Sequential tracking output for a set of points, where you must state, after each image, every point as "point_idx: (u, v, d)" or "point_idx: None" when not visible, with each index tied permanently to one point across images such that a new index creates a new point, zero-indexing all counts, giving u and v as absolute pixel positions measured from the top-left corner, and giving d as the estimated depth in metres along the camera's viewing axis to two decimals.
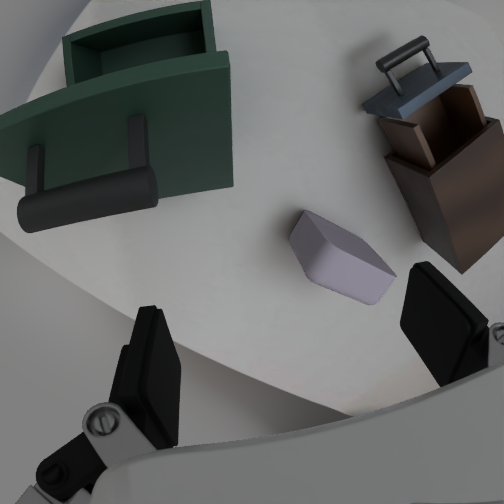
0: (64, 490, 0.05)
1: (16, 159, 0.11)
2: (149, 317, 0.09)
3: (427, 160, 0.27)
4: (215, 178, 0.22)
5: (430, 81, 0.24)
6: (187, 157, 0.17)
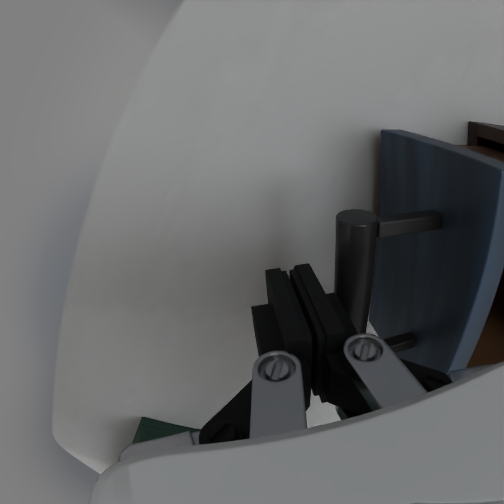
0: None
1: None
2: (282, 276, 0.11)
3: None
4: None
5: (447, 301, 0.10)
6: None
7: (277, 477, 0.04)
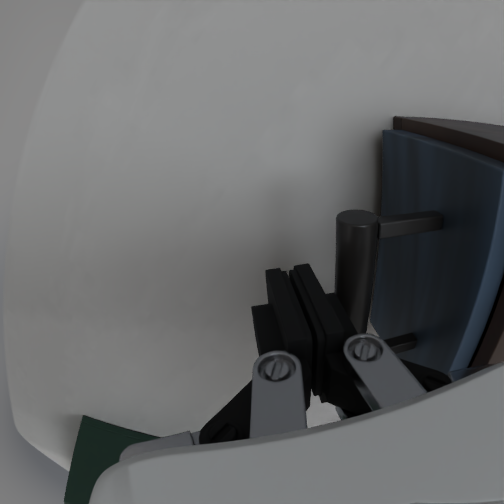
0: None
1: None
2: (282, 277, 0.11)
3: None
4: None
5: (448, 303, 0.10)
6: None
7: (277, 477, 0.04)
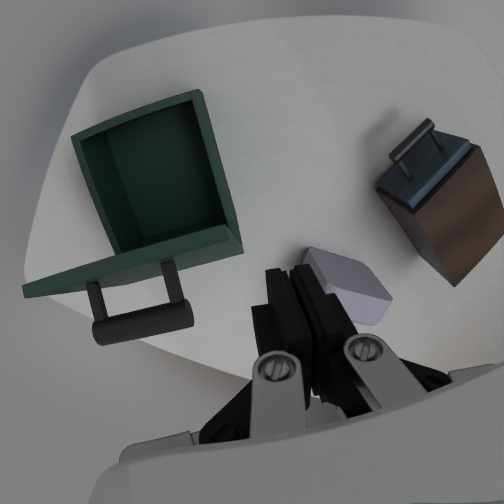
0: None
1: (76, 288, 0.18)
2: (282, 276, 0.11)
3: None
4: (228, 255, 0.28)
5: (435, 164, 0.31)
6: (205, 258, 0.23)
7: (277, 477, 0.04)
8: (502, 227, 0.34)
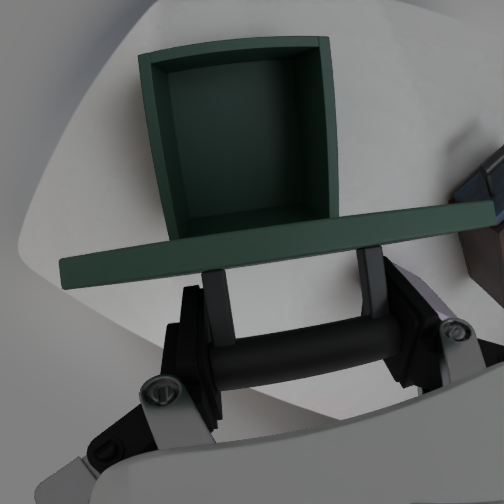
0: None
1: None
2: (195, 295, 0.10)
3: None
4: None
5: None
6: None
7: (277, 477, 0.04)
8: None
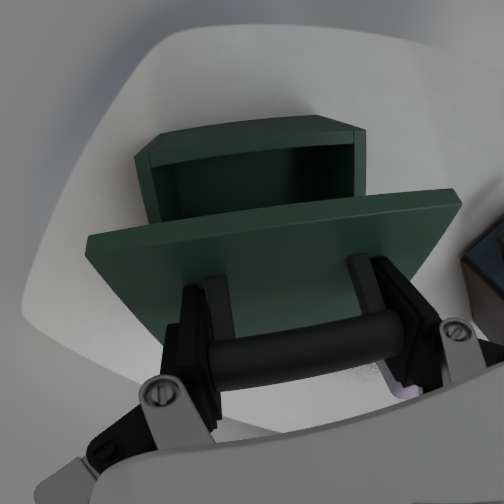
0: None
1: (176, 290, 0.11)
2: (195, 295, 0.10)
3: None
4: None
5: None
6: (351, 312, 0.16)
7: (277, 477, 0.04)
8: None
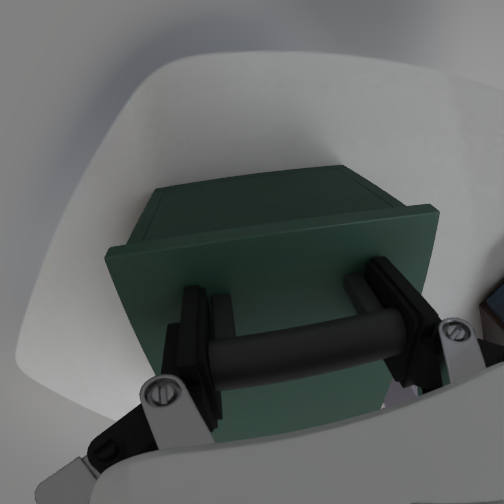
0: None
1: None
2: (196, 295, 0.10)
3: None
4: (366, 405, 0.18)
5: None
6: None
7: (277, 477, 0.04)
8: None
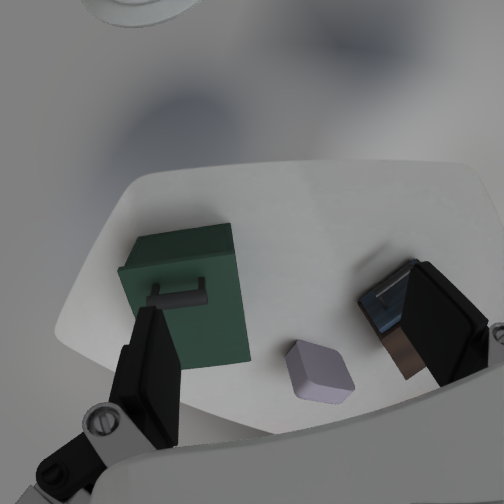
0: (64, 490, 0.05)
1: (143, 290, 0.33)
2: (149, 317, 0.09)
3: None
4: (238, 347, 0.39)
5: None
6: (222, 318, 0.36)
7: (277, 477, 0.04)
8: None
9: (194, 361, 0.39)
